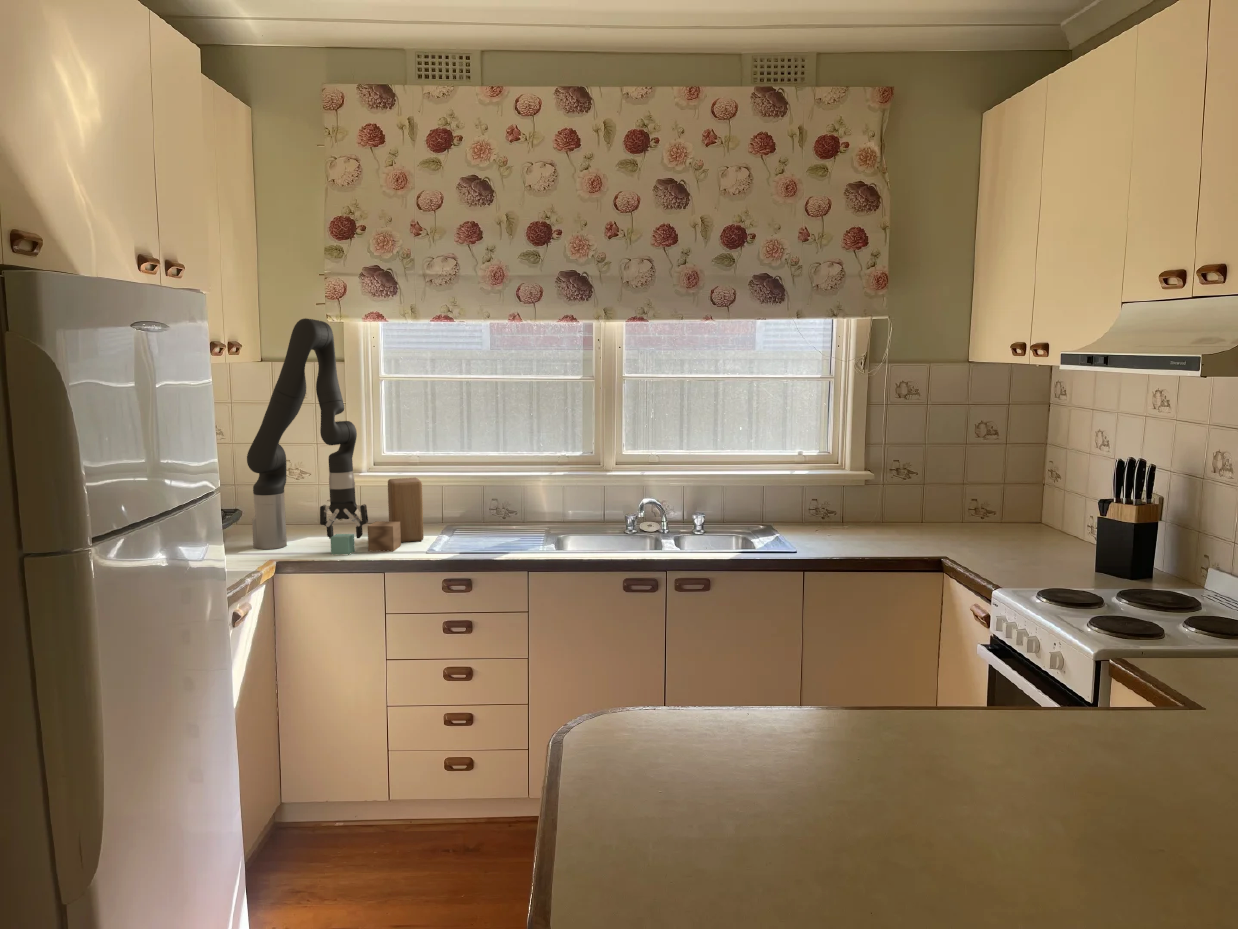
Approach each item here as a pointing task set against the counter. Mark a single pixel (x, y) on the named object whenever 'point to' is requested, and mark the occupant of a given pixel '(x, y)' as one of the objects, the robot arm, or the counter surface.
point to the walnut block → (384, 536)
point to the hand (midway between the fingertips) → (345, 538)
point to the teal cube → (342, 544)
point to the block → (406, 507)
